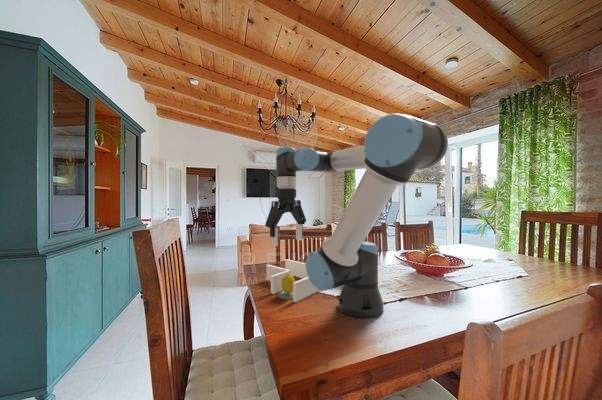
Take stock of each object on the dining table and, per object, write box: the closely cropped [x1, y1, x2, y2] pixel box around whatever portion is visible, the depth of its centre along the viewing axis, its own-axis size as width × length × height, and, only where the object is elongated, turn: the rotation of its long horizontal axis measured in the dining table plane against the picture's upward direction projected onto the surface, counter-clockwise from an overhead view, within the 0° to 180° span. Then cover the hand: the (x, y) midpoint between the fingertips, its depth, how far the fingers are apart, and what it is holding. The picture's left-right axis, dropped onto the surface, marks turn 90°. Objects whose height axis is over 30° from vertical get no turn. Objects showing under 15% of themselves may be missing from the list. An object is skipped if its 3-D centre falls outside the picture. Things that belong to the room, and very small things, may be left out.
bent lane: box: [265, 259, 321, 303], centre depth 111 cm, size 27×23×7 cm
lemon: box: [281, 274, 296, 294], centre depth 100 cm, size 6×6×8 cm
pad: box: [277, 291, 293, 300], centre depth 100 cm, size 8×8×1 cm
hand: (287, 242), depth 100 cm, fingers open, 13 cm apart
